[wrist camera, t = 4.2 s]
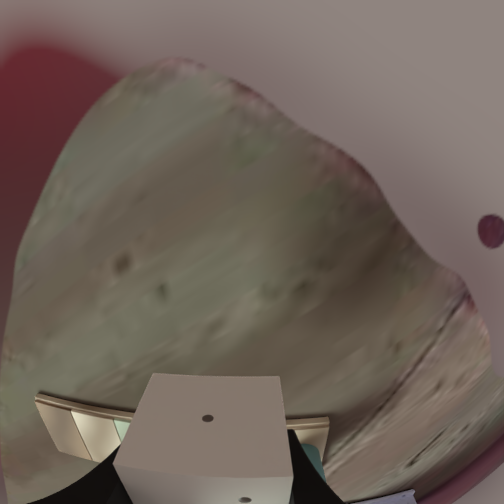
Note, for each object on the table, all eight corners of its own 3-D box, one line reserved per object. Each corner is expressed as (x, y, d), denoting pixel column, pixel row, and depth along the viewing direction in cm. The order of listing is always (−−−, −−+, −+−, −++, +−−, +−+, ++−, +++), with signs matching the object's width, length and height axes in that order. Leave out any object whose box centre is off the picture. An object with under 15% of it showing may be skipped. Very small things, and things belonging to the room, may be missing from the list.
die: (279, 375, 12) (293, 476, 7) (274, 455, 13) (281, 541, 8) (152, 371, 12) (111, 463, 7) (171, 451, 13) (150, 533, 8)
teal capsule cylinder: (321, 441, 20) (339, 515, 13) (316, 466, 21) (330, 533, 14) (279, 444, 20) (286, 521, 13) (277, 468, 21) (283, 539, 14)
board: (328, 416, 20) (330, 424, 19) (316, 470, 22) (318, 477, 21) (38, 393, 20) (33, 398, 19) (62, 446, 22) (59, 452, 21)
